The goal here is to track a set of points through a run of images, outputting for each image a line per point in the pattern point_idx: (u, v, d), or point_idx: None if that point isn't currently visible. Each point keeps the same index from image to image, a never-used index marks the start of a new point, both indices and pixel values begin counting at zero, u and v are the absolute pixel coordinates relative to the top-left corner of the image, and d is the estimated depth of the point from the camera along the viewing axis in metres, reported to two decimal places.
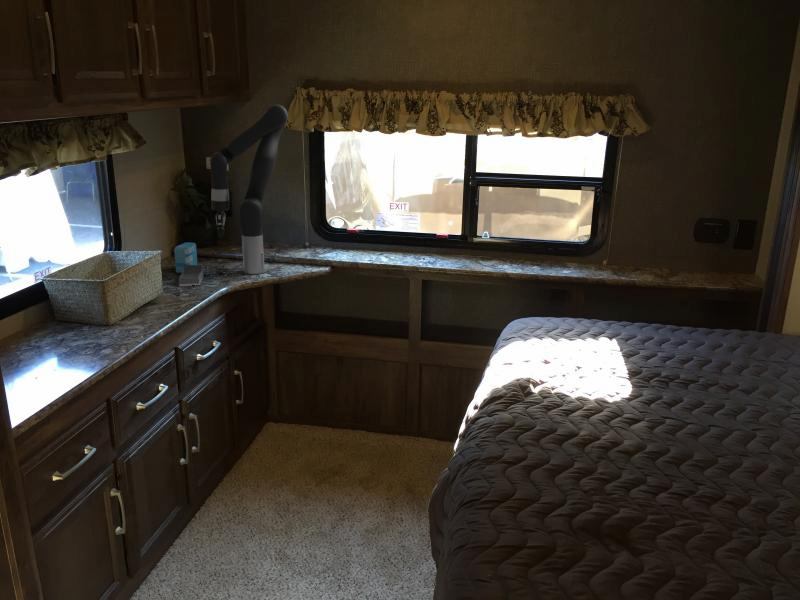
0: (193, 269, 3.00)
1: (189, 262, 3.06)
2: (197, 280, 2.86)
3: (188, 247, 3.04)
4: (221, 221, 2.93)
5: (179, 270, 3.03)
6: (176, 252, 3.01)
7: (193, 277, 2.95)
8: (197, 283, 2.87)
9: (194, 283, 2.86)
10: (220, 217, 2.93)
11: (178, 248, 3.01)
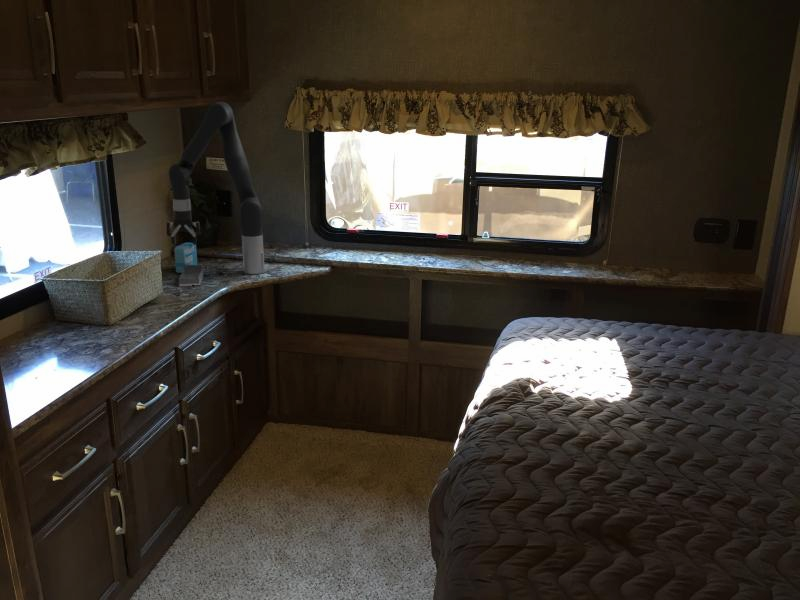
0: (193, 269, 3.00)
1: (189, 262, 3.06)
2: (197, 280, 2.86)
3: (188, 247, 3.04)
4: (199, 227, 3.05)
5: (179, 270, 3.03)
6: (176, 252, 3.01)
7: (193, 277, 2.95)
8: (197, 283, 2.87)
9: (194, 283, 2.86)
10: (199, 224, 3.04)
11: (178, 248, 3.01)
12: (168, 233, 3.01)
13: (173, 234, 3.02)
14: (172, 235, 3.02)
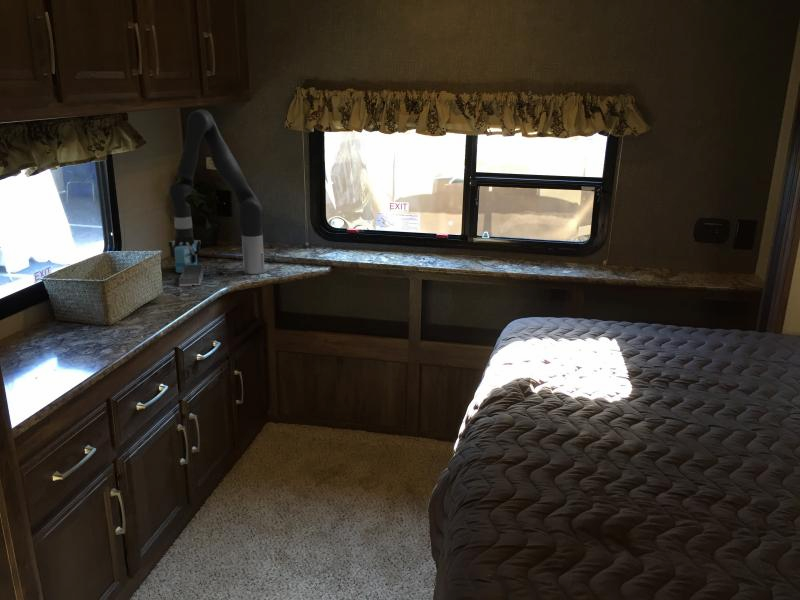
0: (193, 269, 3.00)
1: (189, 262, 3.06)
2: (197, 280, 2.86)
3: (188, 247, 3.04)
4: None
5: (179, 270, 3.03)
6: (176, 252, 3.01)
7: (193, 277, 2.95)
8: (197, 283, 2.87)
9: (194, 283, 2.86)
10: (200, 242, 3.07)
11: (178, 248, 3.01)
12: (173, 252, 3.04)
13: None
14: None
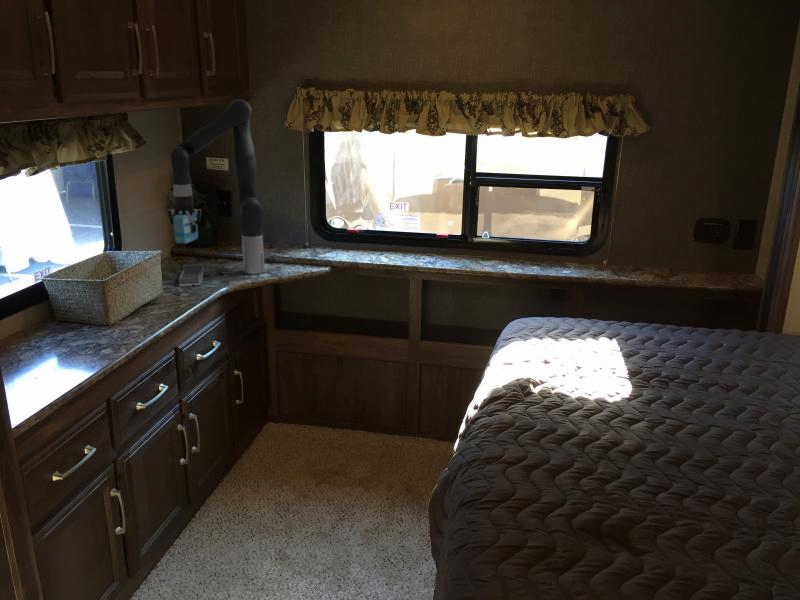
0: (193, 269, 3.00)
1: (189, 232, 2.94)
2: (197, 280, 2.86)
3: (188, 216, 2.91)
4: (200, 215, 2.95)
5: (178, 240, 2.91)
6: (175, 221, 2.88)
7: (193, 277, 2.95)
8: (197, 283, 2.87)
9: (194, 283, 2.86)
10: (200, 212, 2.94)
11: (177, 217, 2.88)
12: (172, 221, 2.92)
13: None
14: None
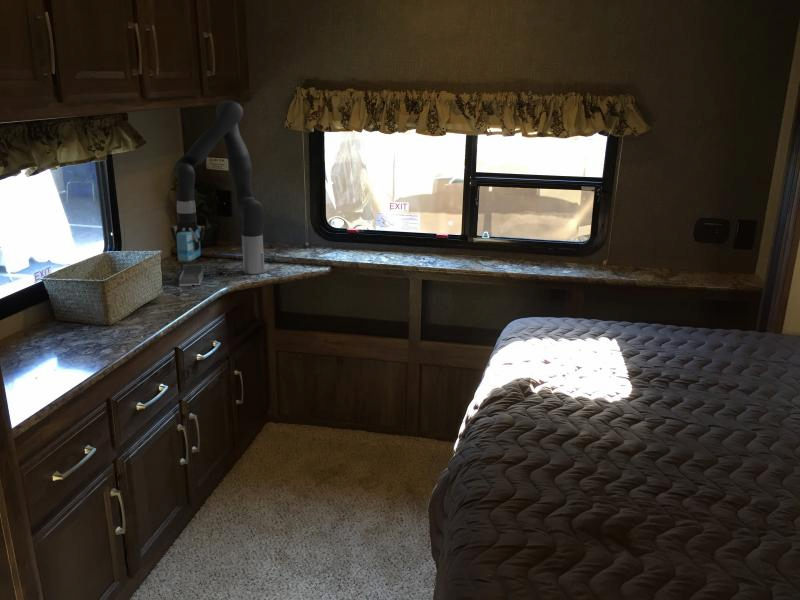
0: (193, 269, 3.00)
1: (192, 249, 2.88)
2: (197, 280, 2.86)
3: (191, 233, 2.86)
4: None
5: (181, 258, 2.85)
6: (178, 238, 2.82)
7: (193, 277, 2.95)
8: (197, 283, 2.87)
9: (194, 283, 2.86)
10: None
11: (180, 234, 2.82)
12: (175, 238, 2.86)
13: None
14: None
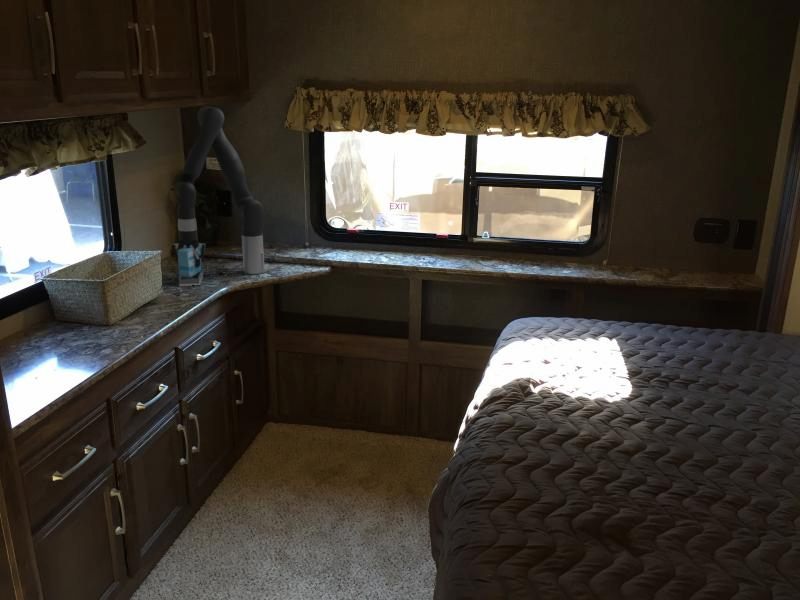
0: None
1: (193, 265, 2.90)
2: (197, 280, 2.86)
3: (192, 249, 2.88)
4: (204, 249, 2.91)
5: (182, 274, 2.87)
6: (179, 255, 2.84)
7: (193, 277, 2.95)
8: (197, 283, 2.87)
9: (194, 283, 2.86)
10: None
11: (181, 250, 2.84)
12: (176, 256, 2.88)
13: None
14: None
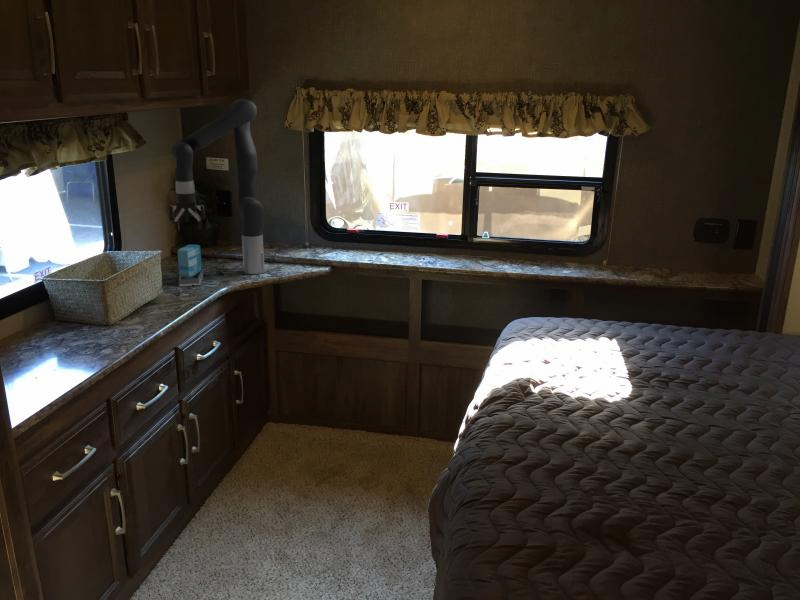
0: None
1: (193, 265, 2.90)
2: (197, 280, 2.86)
3: (192, 249, 2.88)
4: (204, 211, 2.87)
5: (182, 274, 2.87)
6: (179, 255, 2.84)
7: (193, 277, 2.95)
8: (197, 283, 2.87)
9: (194, 283, 2.86)
10: (203, 207, 2.87)
11: (181, 250, 2.84)
12: (171, 218, 2.84)
13: (176, 219, 2.85)
14: (175, 220, 2.85)
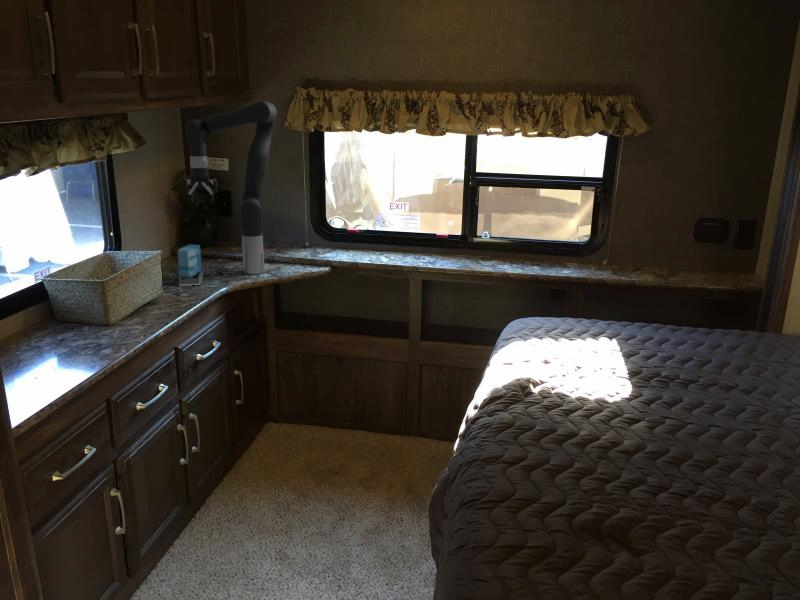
0: None
1: (193, 265, 2.90)
2: (197, 280, 2.86)
3: (192, 249, 2.88)
4: (216, 185, 3.05)
5: (182, 274, 2.87)
6: (179, 255, 2.84)
7: (193, 277, 2.95)
8: (197, 283, 2.87)
9: (194, 283, 2.86)
10: None
11: (181, 250, 2.84)
12: (185, 191, 3.02)
13: (190, 192, 3.03)
14: (189, 193, 3.02)
